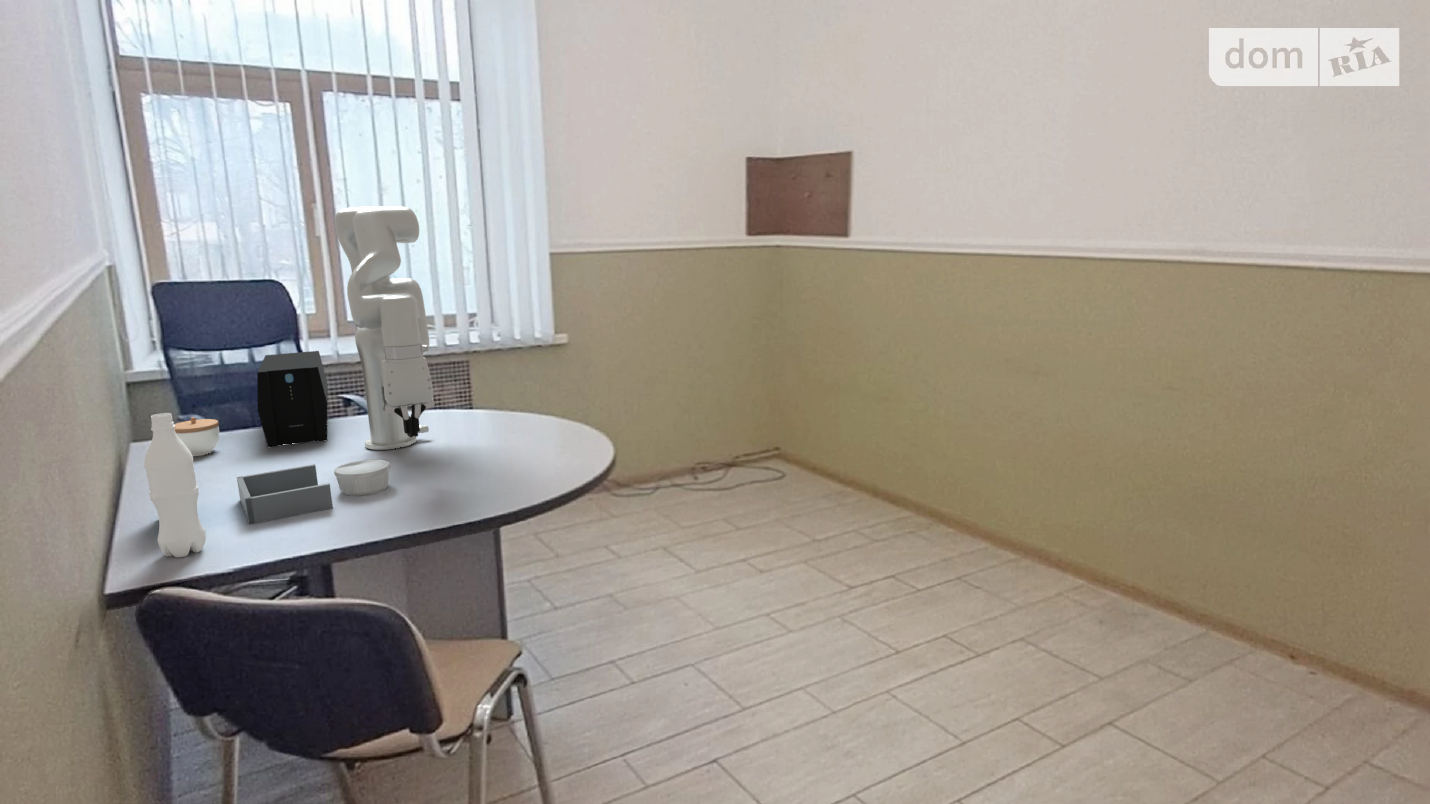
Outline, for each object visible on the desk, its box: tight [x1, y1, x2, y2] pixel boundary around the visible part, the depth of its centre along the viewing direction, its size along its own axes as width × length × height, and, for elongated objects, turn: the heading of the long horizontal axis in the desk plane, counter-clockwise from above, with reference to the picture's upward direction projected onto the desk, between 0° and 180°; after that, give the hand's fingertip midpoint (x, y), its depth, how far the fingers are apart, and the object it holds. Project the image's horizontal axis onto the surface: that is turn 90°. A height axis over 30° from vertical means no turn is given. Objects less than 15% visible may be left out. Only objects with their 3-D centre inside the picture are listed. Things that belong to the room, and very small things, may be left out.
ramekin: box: [333, 459, 391, 497], centre depth 182 cm, size 11×11×5 cm
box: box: [236, 464, 334, 525], centre depth 173 cm, size 15×18×5 cm
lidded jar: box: [173, 416, 220, 457], centre depth 214 cm, size 11×11×9 cm
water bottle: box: [143, 412, 207, 558], centre depth 146 cm, size 7×7×25 cm
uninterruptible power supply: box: [256, 350, 329, 448], centre depth 235 cm, size 16×34×20 cm, turn 24°
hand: (412, 435), depth 185 cm, fingers closed
